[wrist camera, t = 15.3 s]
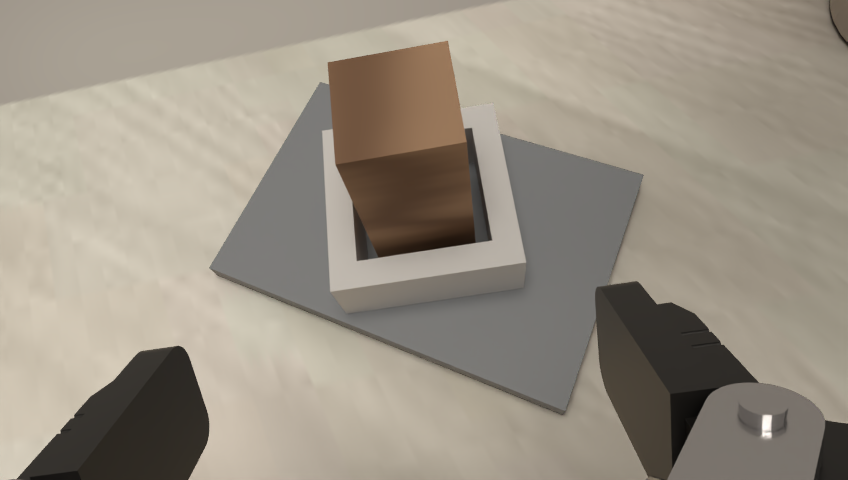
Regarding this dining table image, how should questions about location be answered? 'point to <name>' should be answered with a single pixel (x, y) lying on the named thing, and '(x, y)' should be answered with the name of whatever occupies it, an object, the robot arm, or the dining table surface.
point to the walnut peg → (403, 148)
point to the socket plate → (466, 327)
